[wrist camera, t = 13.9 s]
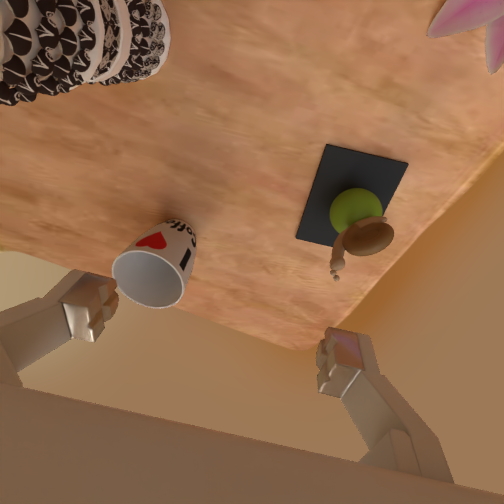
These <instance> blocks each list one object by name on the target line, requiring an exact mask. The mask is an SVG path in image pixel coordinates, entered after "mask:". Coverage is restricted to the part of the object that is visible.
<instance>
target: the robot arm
mask: <svg viewBox="0 0 504 504" xmlns="http://www.w3.org/2000/svg"><path fill="white" fill-rule="evenodd" d="M116 287H117V282H116V279H114V278H110V277H106V276H102V275H98V274H94V273H90V272H85V271H81V270H77V269H74V270H72V271H70V272H69V273H68V274H67V275H66V276H65V277H64V278H63V279H62V280H61V281H60V282H59V283H58V284H57V285H56V286H54V288H53V289H51V290H50V291H49V292H48V293H47V294H46V295H45V296H44V297H43V298H35V299H33V300H30V301H28V302H25V303H22V304H20V305H17V306H15V307H12V308H9V309H7V310H4V311H1V312H0V504H504V495H502V494H497V493H492V492H488V491H483V490H479V489H475V488H470V487H466V486H461V485H457V484H454V481H453V478H452V475H451V473H450V470H449V467H448V464H447V461H446V459H445V456H444V453H443V451H442V448H441V445H440V442H439V440H438V438H437V436H436V435H435V434H434V433H433V432H432V431H431V429H430V428H429V427H428V426H427V425H426V423H425V422H424V421H423V420H422V419H421V418H420V416H419V415H418V414H417V413H416V412H415V411H414V409H413V408H412V407H411V406H410V405H409V404H408V402H407V401H406V400H405V399H404V398H403V397H402V396H401V394H400V393H399V392H398V391H397V390H396V388H395V387H394V386H393V385H392V384H391V383H390V382H389V380H388V379H387V378H386V377H385V376H384V375H381V374H380V371H379V368H378V364H377V360H376V356H375V353H374V349H373V345H372V341H371V338H370V336H368V335H365V334H361V333H356V332H351V331H347V330H342V329H338V328H333V327H328V328H327V329H326V331H325V339H323V340H321V341H320V343H319V345H318V349H317V353H316V365H317V366H318V368H319V369H320V371H319V373H318V375H317V381H318V392H319V393H322V394H326V395H330V396H334V397H338V398H341V401H342V403H343V404H344V406H345V408H346V410H347V411H348V413H349V415H350V417H351V418H352V420H353V422H354V424H355V425H356V427H357V429H358V431H359V432H360V434H361V435H362V437H363V439H364V441H365V443H366V445H367V446H368V448H369V450H370V451H369V452H368V453H367V454H366V455H365V456H364V457H363V458H362V459H361V460H360V461H359V462H354V461H350V460H345V459H341V458H336V457H332V456H327V455H322V454H318V453H314V452H309V451H305V450H300V449H296V448H292V447H287V446H283V445H278V444H273V443H269V442H265V441H260V440H256V439H252V438H247V437H243V436H238V435H234V434H229V433H225V432H220V431H216V430H211V429H207V428H203V427H198V426H194V425H189V424H185V423H180V422H175V421H171V420H167V419H162V418H158V417H153V416H149V415H145V414H140V413H135V412H131V411H127V410H122V409H118V408H113V407H109V406H104V405H100V404H95V403H91V402H86V401H82V400H77V399H73V398H68V397H64V396H59V395H55V394H51V393H46V392H42V391H37V390H32V389H28V388H24V387H23V385H22V382H21V380H20V378H19V376H18V374H17V372H19V371H20V370H22V369H24V368H25V367H27V366H28V365H30V364H32V363H33V362H35V361H36V360H38V359H40V358H41V357H43V356H45V355H46V354H48V353H50V352H51V351H53V350H54V349H56V348H58V347H59V346H61V345H62V344H64V343H66V342H67V341H69V340H71V338H75V339H81V340H86V341H91V342H95V341H96V339H97V338H98V337H99V335H100V334H101V332H102V331H103V330H104V328H105V327H104V322H106V321H107V320H110V319H111V318H112V317H113V315H114V314H115V312H116V309H117V307H118V301H119V298H118V294H117V293H116V292H115V289H116Z"/></svg>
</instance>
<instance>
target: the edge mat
mask: <svg viewBox="0 0 504 504" xmlns="http://www.w3.org/2000/svg"><path fill="white" fill-rule="evenodd" d="M408 165H409V164H408V163H405V162H401V161H396V160H392V159H388V158H384V157H380V156H375V155H371V154H367V153H363V152H358V151H354V150H350V149H346V148H341V147H337V146H333V145H329V144H326V147H325V150H324V153H323V156H322V159H321V162H320V165H319V168H318V171H317V174H316V177H315V180H314V183H313V186H312V189H311V192H310V195H309V198H308V201H307V204H306V207H305V210H304V213H303V216H302V219H301V223H300V226H299V229H298V232H297V235H296V239H300V240H304V241H309V242H313V243H317V244H321V245H326V246H330V247H333V245H334V242H335V240H336V238H337V237H338V235H339V234H340V233H338V232H337V231H336V230H335V229H334V227H333V226H332V224H331V221H330V208H331V205H332V203H333V201H334V200H335V198H336V197H337V196H338V195H339V194H341V193H342V192H344V191H346V190H348V189H352V188H362V189H366V190H368V191H370V192H372V193H373V194H375V195H376V196H377V198H378V199H379V201H380V203H381V206H382V216H383V214H384V212H385V210H386V208H387V206H388V204H389V202H390V200H391V198H392V196H393V195H394V193H395V191H396V189H397V187H398V185H399V183H400V181H401V179H402V177H403V175H404V173H405V171H406V169H407V167H408Z"/></svg>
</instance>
